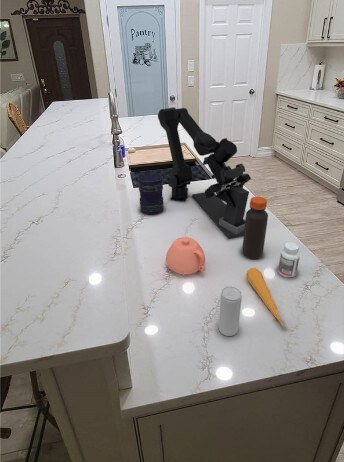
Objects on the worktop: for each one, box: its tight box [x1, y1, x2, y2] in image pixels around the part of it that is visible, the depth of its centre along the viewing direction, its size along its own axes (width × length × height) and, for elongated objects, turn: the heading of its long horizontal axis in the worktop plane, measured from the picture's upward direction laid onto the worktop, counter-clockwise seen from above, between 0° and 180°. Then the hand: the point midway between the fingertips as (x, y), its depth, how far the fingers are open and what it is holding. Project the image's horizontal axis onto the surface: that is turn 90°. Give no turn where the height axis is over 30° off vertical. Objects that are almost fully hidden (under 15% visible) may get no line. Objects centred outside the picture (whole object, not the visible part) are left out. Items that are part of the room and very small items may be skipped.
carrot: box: [245, 267, 284, 327], centre depth 90 cm, size 20×4×4 cm, turn 12°
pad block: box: [224, 185, 250, 226], centre depth 119 cm, size 4×6×13 cm, turn 31°
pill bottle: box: [277, 241, 301, 278], centre depth 98 cm, size 5×5×10 cm
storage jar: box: [137, 171, 165, 216], centre depth 134 cm, size 10×10×15 cm
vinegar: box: [241, 196, 269, 260], centre depth 105 cm, size 7×7×20 cm
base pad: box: [191, 191, 245, 240], centre depth 133 cm, size 37×10×4 cm, turn 18°
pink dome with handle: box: [165, 236, 206, 276], centre depth 101 cm, size 12×14×10 cm
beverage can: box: [218, 285, 243, 337], centre depth 79 cm, size 5×5×12 cm
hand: (239, 206), depth 117 cm, fingers closed on pad block, 4 cm apart
